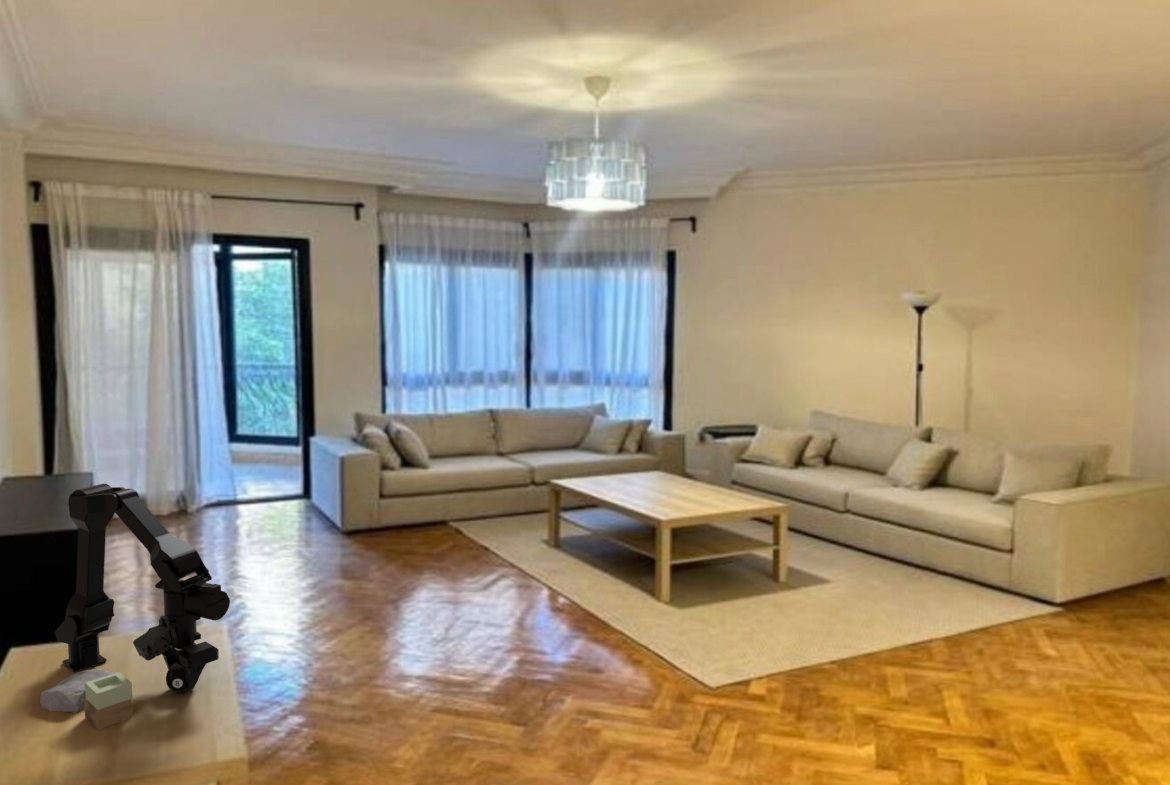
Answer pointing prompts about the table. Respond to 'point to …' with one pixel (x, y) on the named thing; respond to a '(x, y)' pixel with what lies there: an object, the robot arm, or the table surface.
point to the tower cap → (108, 690)
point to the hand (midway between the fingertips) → (182, 684)
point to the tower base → (108, 713)
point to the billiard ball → (176, 679)
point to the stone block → (70, 691)
